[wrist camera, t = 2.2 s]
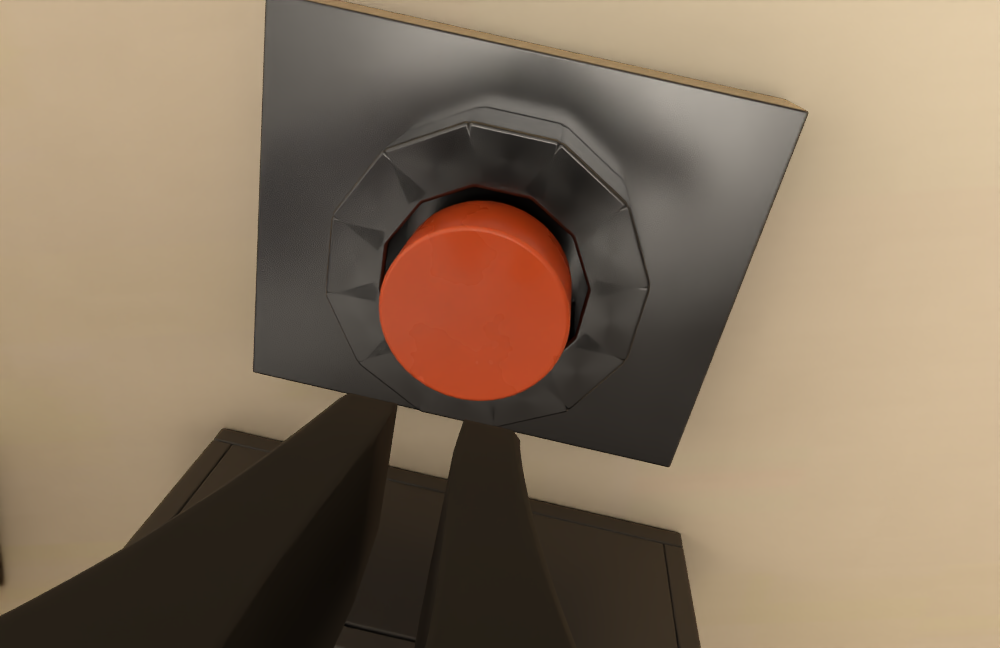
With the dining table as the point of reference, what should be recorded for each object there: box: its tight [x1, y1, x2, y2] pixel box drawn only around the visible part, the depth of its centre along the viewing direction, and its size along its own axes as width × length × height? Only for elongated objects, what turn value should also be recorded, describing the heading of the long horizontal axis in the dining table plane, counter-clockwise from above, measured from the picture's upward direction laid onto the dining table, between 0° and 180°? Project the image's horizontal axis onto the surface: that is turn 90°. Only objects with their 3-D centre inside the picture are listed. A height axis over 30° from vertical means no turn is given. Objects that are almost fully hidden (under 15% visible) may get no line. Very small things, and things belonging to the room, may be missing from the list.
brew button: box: [379, 200, 572, 401], centre depth 13 cm, size 4×4×2 cm
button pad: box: [253, 0, 808, 467], centre depth 15 cm, size 9×11×4 cm
